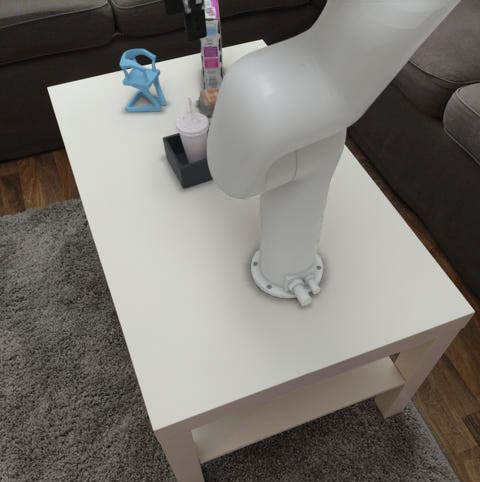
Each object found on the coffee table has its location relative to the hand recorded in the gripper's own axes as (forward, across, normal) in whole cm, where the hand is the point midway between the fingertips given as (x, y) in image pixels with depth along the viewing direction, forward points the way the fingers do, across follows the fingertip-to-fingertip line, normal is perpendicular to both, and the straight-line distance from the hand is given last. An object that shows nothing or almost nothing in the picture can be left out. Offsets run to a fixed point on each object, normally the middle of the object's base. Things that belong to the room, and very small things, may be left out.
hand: (185, 25), depth 70 cm
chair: (+27, +27, +4) cm, 38 cm away
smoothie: (+27, +1, +1) cm, 27 cm away
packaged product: (+27, +16, -15) cm, 35 cm away
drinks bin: (+27, +1, +1) cm, 27 cm away
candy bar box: (+27, +28, -14) cm, 42 cm away
